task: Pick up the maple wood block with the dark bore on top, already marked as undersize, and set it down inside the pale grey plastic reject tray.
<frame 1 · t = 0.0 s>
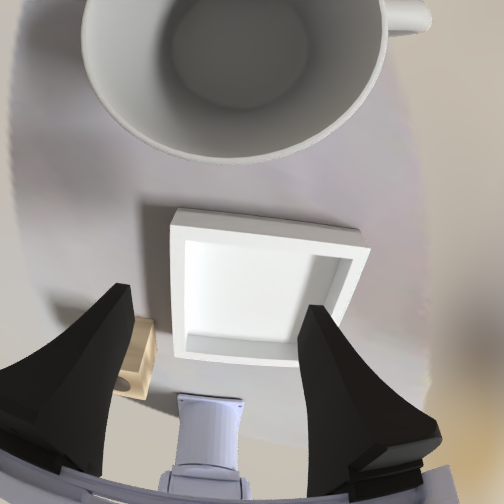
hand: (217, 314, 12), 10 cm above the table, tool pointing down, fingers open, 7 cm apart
mug: (269, 42, 15), on the table
reject tray: (258, 291, 25), on the table
bore block: (133, 332, 28), on the table
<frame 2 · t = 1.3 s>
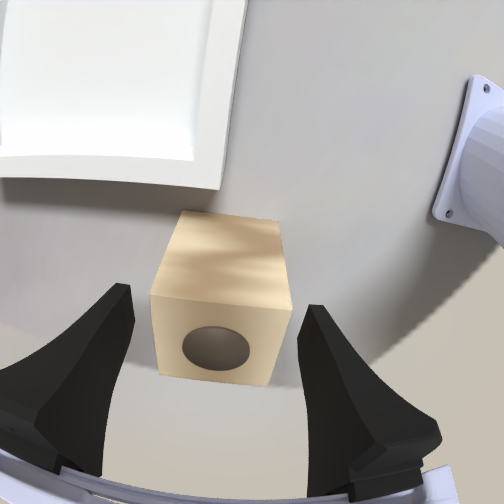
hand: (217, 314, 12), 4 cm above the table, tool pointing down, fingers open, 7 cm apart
reject tray: (94, 24, 9), on the table
bore block: (225, 254, 16), on the table
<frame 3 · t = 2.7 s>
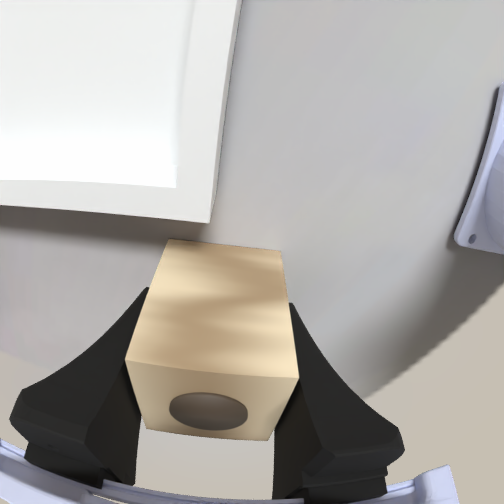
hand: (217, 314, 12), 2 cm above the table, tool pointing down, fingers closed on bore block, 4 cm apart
reject tray: (63, 21, 7), on the table
bore block: (219, 288, 14), on the table, touching gripper
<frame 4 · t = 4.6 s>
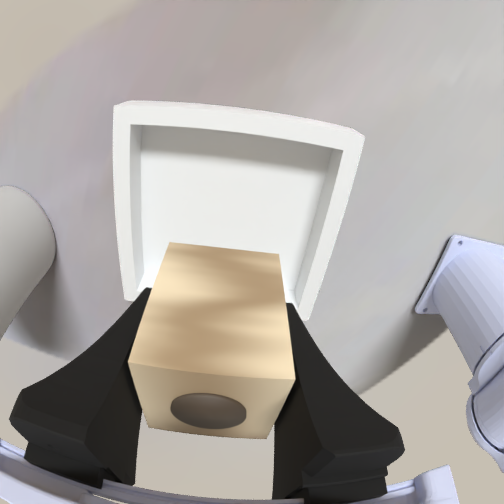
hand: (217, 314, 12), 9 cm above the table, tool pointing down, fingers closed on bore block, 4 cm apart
mug: (10, 212, 19), on the table
reject tray: (227, 209, 20), on the table
bore block: (219, 289, 14), point 7 cm above the table, touching gripper
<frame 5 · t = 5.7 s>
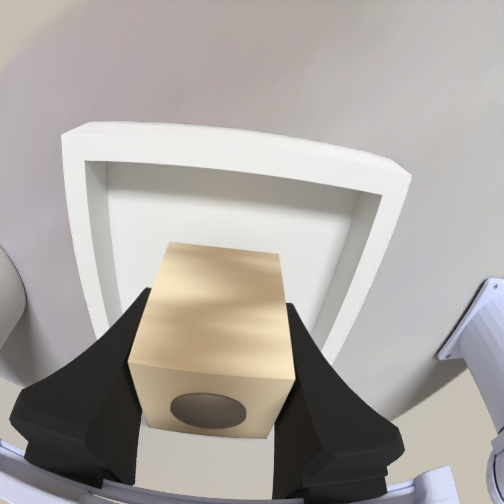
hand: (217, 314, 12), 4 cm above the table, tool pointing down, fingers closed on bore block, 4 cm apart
reject tray: (222, 262, 15), on the table
bore block: (219, 289, 14), point 2 cm above the table, touching gripper
when the fingers open (4 cm above the table, at t = 6.5 s): bore block drops 1 cm, resting on reject tray.
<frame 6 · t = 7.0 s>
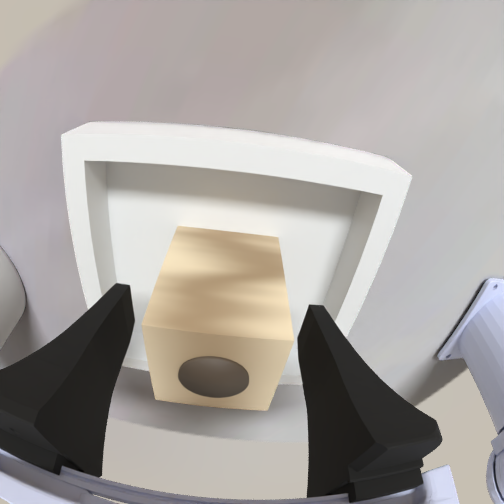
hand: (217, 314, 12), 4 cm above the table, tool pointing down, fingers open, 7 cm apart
reject tray: (222, 262, 15), on the table
bore block: (223, 271, 15), resting on reject tray
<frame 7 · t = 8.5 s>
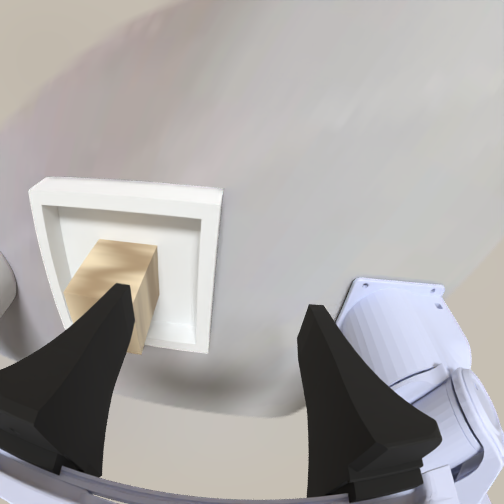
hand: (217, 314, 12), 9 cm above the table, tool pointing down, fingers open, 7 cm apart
reject tray: (130, 261, 22), on the table
bore block: (129, 267, 22), resting on reject tray
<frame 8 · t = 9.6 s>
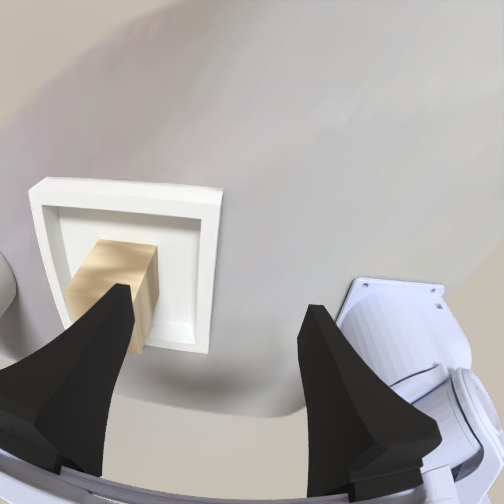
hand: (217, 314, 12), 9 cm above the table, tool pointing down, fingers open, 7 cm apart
reject tray: (130, 261, 22), on the table
bore block: (129, 267, 22), resting on reject tray
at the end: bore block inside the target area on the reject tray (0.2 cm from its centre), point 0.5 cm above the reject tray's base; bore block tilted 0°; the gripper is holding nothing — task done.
